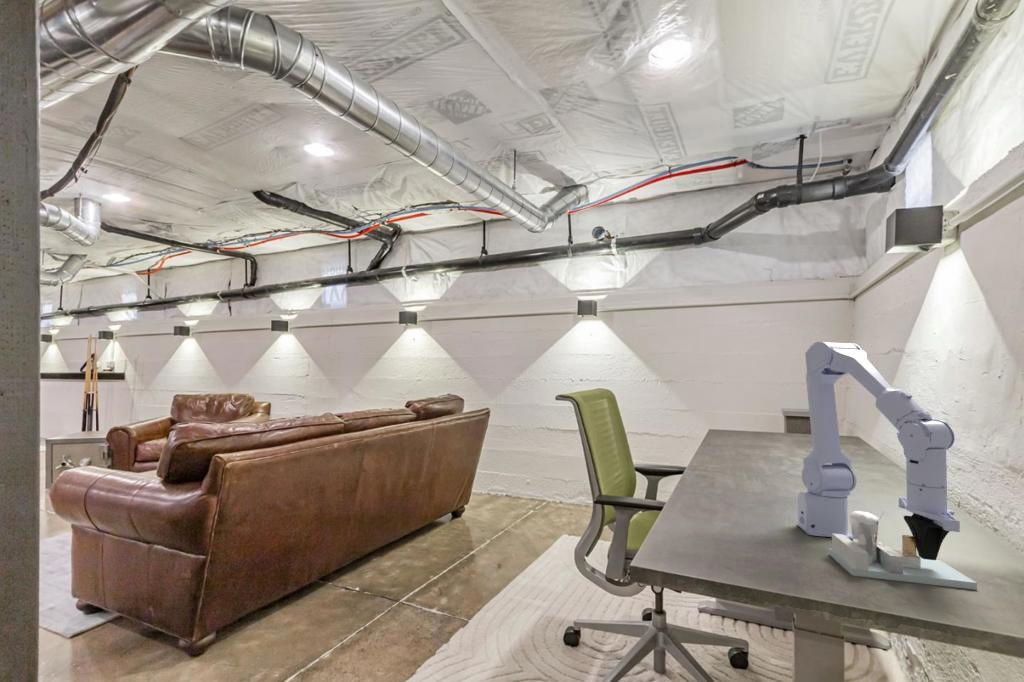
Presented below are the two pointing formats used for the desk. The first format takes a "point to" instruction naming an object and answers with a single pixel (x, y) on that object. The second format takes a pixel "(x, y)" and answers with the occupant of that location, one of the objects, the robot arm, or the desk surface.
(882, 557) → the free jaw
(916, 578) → the pale blue stepped plate
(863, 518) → the milkshake
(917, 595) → the desk surface
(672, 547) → the desk surface
